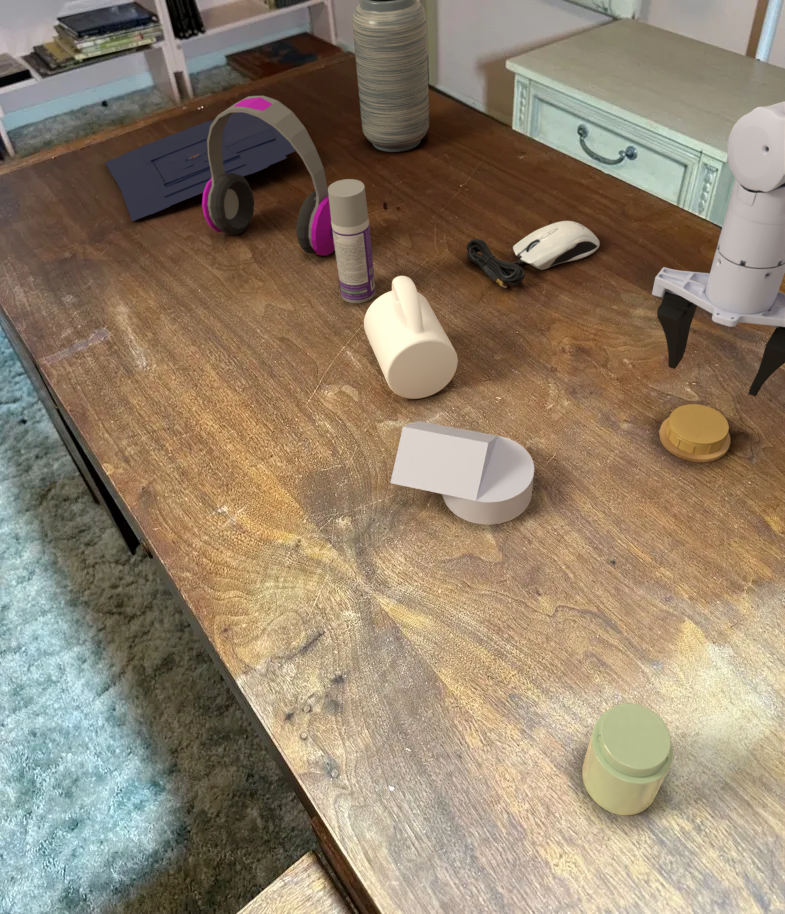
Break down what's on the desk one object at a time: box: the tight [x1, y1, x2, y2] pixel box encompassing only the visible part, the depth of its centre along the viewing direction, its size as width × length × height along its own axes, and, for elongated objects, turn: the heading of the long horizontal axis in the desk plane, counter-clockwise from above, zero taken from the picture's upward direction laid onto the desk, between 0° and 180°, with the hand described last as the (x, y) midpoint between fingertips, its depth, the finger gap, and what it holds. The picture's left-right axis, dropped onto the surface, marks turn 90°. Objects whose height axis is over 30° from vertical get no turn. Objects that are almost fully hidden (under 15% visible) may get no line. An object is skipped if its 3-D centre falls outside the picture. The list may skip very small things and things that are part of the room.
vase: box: [351, 0, 430, 153], centre depth 126 cm, size 12×12×23 cm
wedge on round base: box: [389, 420, 535, 526], centre depth 75 cm, size 9×7×13 cm
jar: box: [581, 702, 674, 816], centre depth 54 cm, size 5×5×7 cm
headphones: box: [201, 95, 335, 257], centre depth 106 cm, size 21×9×20 cm, turn 63°
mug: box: [363, 275, 459, 400], centre depth 86 cm, size 8×10×12 cm
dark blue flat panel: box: [104, 112, 297, 222], centre depth 130 cm, size 24×30×4 cm
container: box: [327, 178, 377, 304], centre depth 97 cm, size 5×5×15 cm
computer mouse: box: [466, 220, 601, 289], centre depth 104 cm, size 10×18×4 cm, turn 117°
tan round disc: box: [658, 416, 731, 463], centre depth 80 cm, size 7×7×1 cm
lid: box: [666, 403, 730, 454], centre depth 79 cm, size 6×6×2 cm
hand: (714, 375), depth 73 cm, fingers open, 7 cm apart
